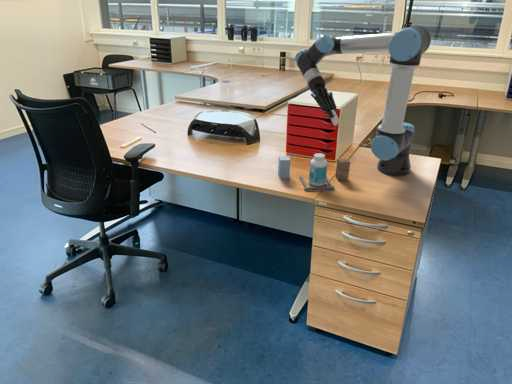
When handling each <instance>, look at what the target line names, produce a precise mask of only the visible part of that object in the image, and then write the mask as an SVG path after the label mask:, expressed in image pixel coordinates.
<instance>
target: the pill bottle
mask: <svg viewBox="0 0 512 384" xmlns="http://www.w3.org/2000/svg"><path fill="white" fill-rule="evenodd" d="M325 158H326V155H325V154H324V153H320V152H319V153H314V154H313V158H312V159H311V160H310V162H309V170H308V171H309V174H308V175H309V176H308V184H309V185H310V186H311V187H324V186H325V185H326V184H327V182H326V176H327V170H328V161H327V160H326V159H325Z"/></svg>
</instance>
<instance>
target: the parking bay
mask: <svg viewBox="0 0 512 384" xmlns="http://www.w3.org/2000/svg"><path fill="white" fill-rule="evenodd" d="M299 179H300V181H301V183H303V184H302V185H303V186H302V187H303V188H304V189H303V190H304V191H305V192H306V191H307V192H308V191H309V190H310V192H311V190H312V191H333V190H334V191H335V188H336V187H335V186H333V184H332V182H331V181H330V179H329V178H328V176H327V175H326V185H327V186H325V185H324V186H319V187H317V186H308V184H307V183H306V181H305V179H304V177H303V175H299Z"/></svg>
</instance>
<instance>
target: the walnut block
mask: <svg viewBox="0 0 512 384" xmlns="http://www.w3.org/2000/svg"><path fill="white" fill-rule="evenodd" d="M335 167H336V168H335V175H334V176H335V178H336V180H337V181H346V182H347V181H348V180H349V174H350V168H351V161H350V160H349V158H347V157H343V158H341V157H340V158H339V157H338V158H337V159H336V166H335Z"/></svg>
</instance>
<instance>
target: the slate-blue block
mask: <svg viewBox="0 0 512 384" xmlns="http://www.w3.org/2000/svg"><path fill="white" fill-rule="evenodd" d="M291 160H292V159H291V157H290V156H289V155H287V156H286V155H284V156H283V155H281V156H278V165H277V166H278V167H277V176H278V178H279V179H281V178H287V179H290V177H291V176H290V175H291V162H292V161H291ZM281 180H282V179H281Z"/></svg>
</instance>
